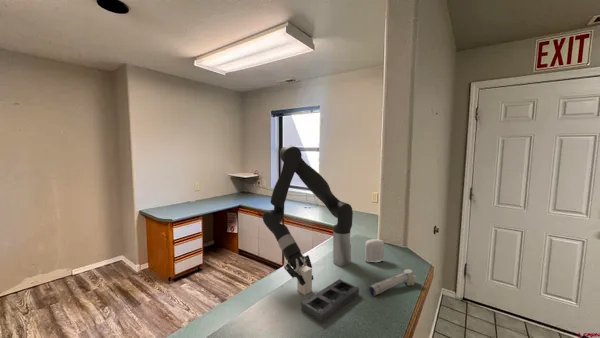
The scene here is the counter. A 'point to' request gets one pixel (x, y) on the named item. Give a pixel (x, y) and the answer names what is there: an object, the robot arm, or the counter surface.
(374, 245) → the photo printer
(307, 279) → the peg
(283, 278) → the counter surface
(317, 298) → the grey holed base
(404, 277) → the grey knobbed rod
